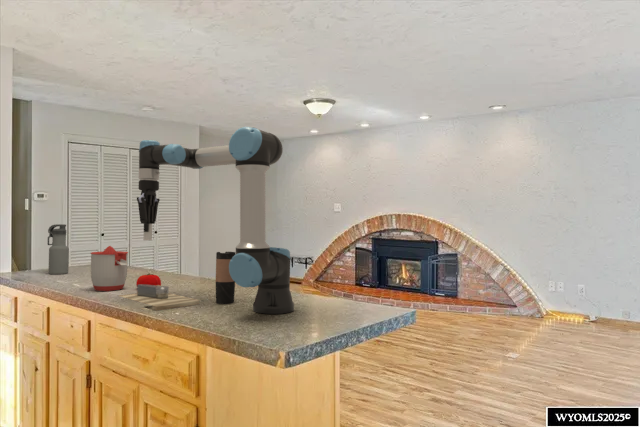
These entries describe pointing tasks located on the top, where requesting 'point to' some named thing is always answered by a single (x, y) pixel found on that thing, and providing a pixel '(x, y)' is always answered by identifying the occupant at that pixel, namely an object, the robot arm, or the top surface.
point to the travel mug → (224, 279)
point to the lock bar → (152, 291)
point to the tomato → (149, 280)
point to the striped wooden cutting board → (163, 301)
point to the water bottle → (58, 250)
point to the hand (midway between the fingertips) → (147, 240)
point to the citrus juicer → (108, 269)
